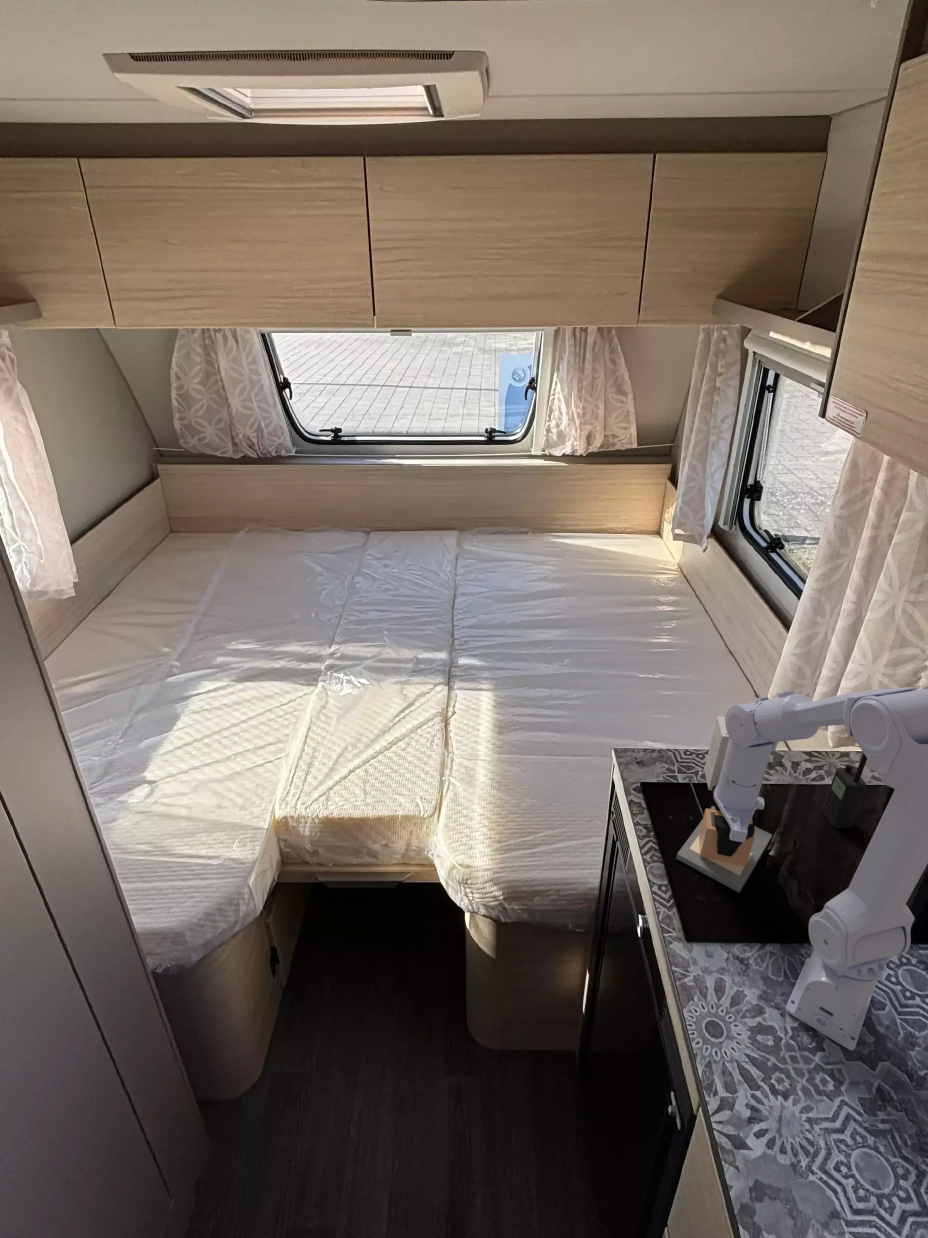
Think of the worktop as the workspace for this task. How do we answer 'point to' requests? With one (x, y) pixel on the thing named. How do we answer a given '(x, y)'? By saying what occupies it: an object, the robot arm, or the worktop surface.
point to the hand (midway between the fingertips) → (723, 842)
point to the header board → (720, 870)
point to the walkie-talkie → (845, 795)
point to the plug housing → (710, 842)
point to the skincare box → (716, 753)
